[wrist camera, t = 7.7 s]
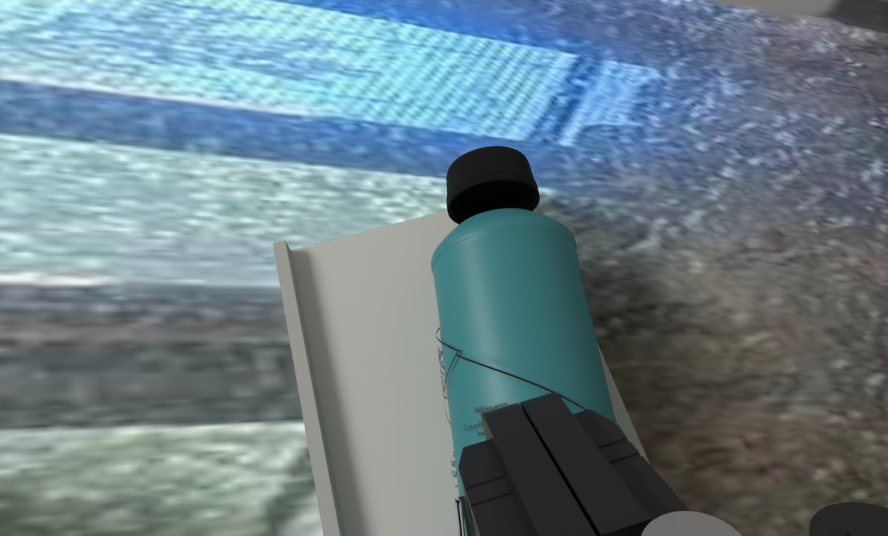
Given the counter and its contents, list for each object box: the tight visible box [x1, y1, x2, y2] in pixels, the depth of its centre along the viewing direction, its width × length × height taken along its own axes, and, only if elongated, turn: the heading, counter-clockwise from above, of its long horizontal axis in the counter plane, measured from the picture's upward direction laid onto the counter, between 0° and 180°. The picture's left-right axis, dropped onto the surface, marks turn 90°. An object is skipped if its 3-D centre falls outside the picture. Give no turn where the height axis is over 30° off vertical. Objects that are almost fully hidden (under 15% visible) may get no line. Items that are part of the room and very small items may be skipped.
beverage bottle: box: [431, 146, 625, 536], centre depth 22 cm, size 6×7×20 cm
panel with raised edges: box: [273, 205, 650, 536], centre depth 25 cm, size 17×13×1 cm
